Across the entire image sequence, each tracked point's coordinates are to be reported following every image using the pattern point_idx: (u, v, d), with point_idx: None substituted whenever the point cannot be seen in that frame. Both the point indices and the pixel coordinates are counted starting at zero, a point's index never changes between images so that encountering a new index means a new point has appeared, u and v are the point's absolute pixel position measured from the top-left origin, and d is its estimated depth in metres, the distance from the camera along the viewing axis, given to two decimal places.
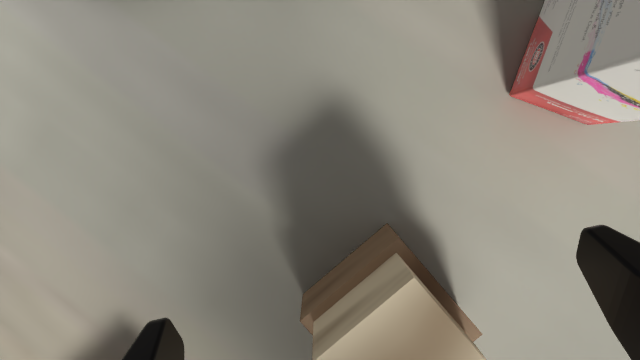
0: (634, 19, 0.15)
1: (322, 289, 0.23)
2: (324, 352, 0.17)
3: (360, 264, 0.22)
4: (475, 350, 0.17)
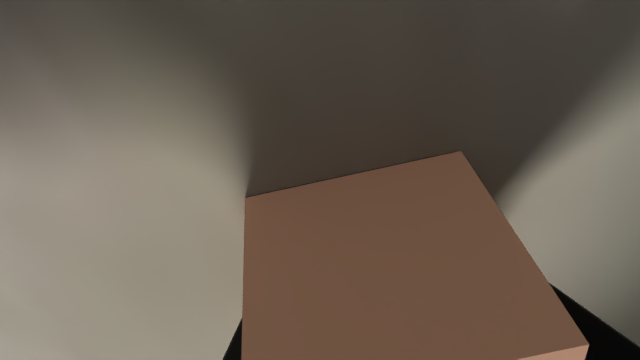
0: None
1: None
2: None
3: None
4: None
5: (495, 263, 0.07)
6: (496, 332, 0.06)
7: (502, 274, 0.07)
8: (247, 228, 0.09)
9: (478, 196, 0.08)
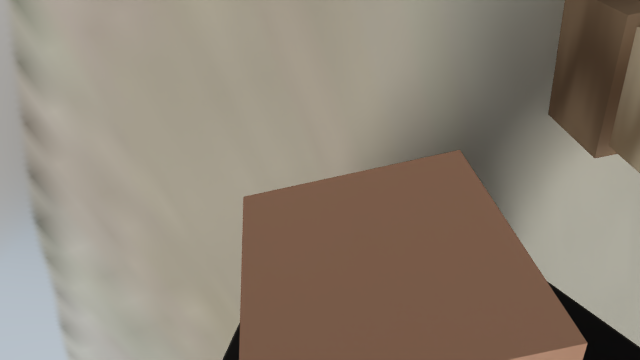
0: None
1: None
2: None
3: None
4: None
5: (493, 262, 0.07)
6: (494, 330, 0.06)
7: (500, 273, 0.07)
8: (245, 227, 0.09)
9: (477, 195, 0.08)
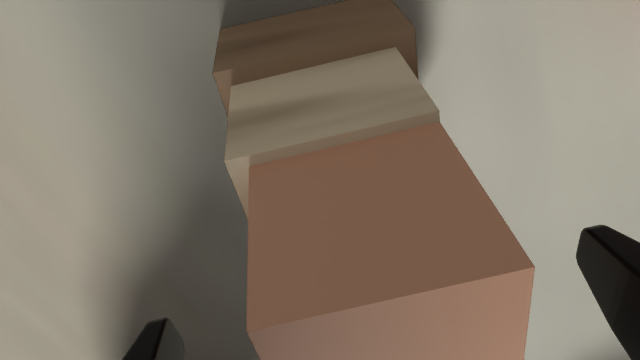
0: None
1: (258, 40, 0.15)
2: (249, 155, 0.11)
3: (335, 35, 0.14)
4: None
5: (462, 209, 0.08)
6: (459, 261, 0.07)
7: (468, 217, 0.08)
8: (251, 190, 0.10)
9: (452, 158, 0.09)
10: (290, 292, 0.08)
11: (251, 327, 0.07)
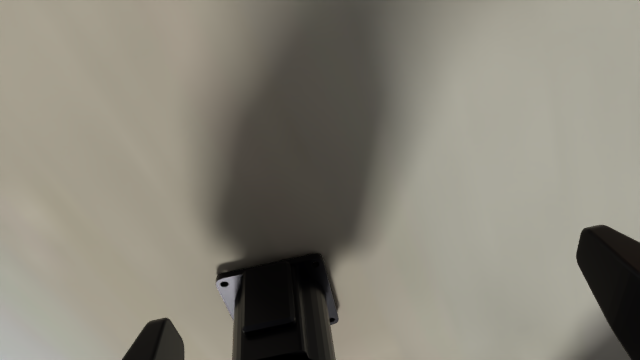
0: None
1: None
2: None
3: None
4: None
5: None
6: None
7: None
8: None
9: None
10: None
11: None
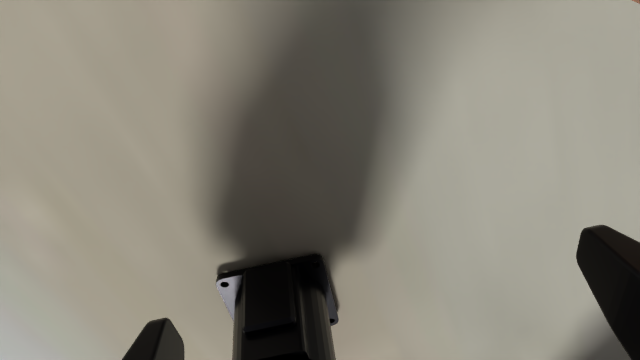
0: None
1: None
2: None
3: None
4: None
5: None
6: None
7: None
8: None
9: None
10: None
11: None
